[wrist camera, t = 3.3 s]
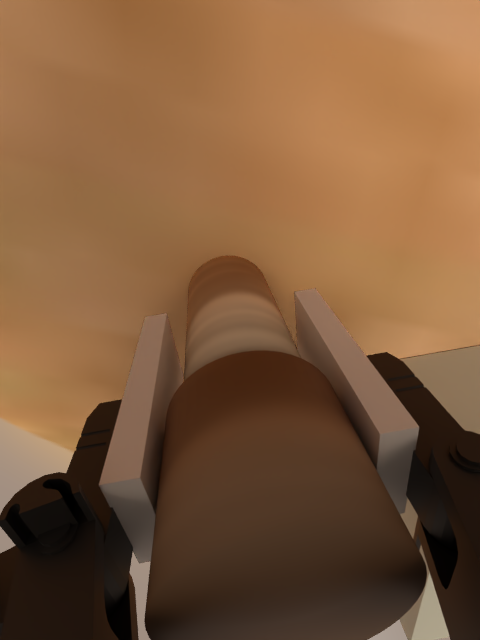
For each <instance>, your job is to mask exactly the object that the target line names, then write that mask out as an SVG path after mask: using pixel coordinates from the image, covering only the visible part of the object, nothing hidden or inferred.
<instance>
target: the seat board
mask: <svg viewBox="0 0 480 640" xmlns="http://www.w3.org/2000/svg"><path fill="white" fill-rule="evenodd" d="M400 360H401V361H403V362H404V363H405V364H406V365H407V366H408V367H409V369H410V370H411V371H412V372H413V373H414V375H415V377H417V378H418V379H419V380H420V381H421V382H422V383H423V384H424V387H426V388H427V389H428V390H429V391H430V392H431V393H432V394H433V396H434V397H435V398H436V399H437V400H438V401H439V402H440V403H441V405H442V406H443V407H444V408H445V409H446V410H447V411H448V412H449V413H450V415H451V416H452V417H453V418H454V419H455V420H456V421H457V422H458V424H459V425H460V426H461V427H462V428H463V429H464V430H465V431H472V432H475V433H477V434H480V345H479V346H473V347H467V348H462V349H456V350H450V351H445V352H439V353H433V354H427V355H422V356H416V357H410V358H405V359H400ZM400 515H401V517H402V519H403V521H404V523H405V525H406V527H407V529H408V531H409V532H410V534H411V536H412V538H413V537H414V532H415V528H416V523H417V518H418V515H417V513H416V512H415V510H414V508H413V506H412V505H411V503H410V501H409V499H408V498H407V502H406V508H405V513H402V514H400ZM420 553H421V555H422V557H423V559H424V562H425V564H426V569H427V579H426V584H425V587H424V589H423V592H422V594H421V595H420V597H419V598H418V600H417V602H416V603H415V604H414V605H413V606H412V607H411V609H410V610H409V611H408V612H407V613H406V614H404V615H403V616H402V617H401V618H400V622H401V624H402V626H403V629H404V631H405V634H406V636H407V639H408V640H437V639H442V638H446V637H450V636H449V633H448V630H447V627H446V623H445V620H444V617H443V614H442V610H441V607H440V604H439V601H438V598H437V594H436V591H435V588H434V585H433V581H432V578H431V575H430V572H429V569H428V565H427V562H426V559H425V556H424V552H423V549H422V546H420Z"/></svg>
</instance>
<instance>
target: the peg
mask: <svg viewBox="0 0 480 640" xmlns="http://www.w3.org/2000/svg"><path fill="white" fill-rule="evenodd" d="M426 579H427V569H426V564H425V562H424V559H423V557H422V555H421V553H420V551H419V549H418V548H417V546H416V544H415V542H414V540H413V538H412V536H411V534H410V532H409V531H408V529H407V527H406V525H405V523H404V521H403V519H402V517H401V515H400V514H399V512H398V510H397V508H396V506H395V504H394V502H393V500H392V498H391V497H390V495H389V493H388V491H387V489H386V487H385V485H384V483H383V481H382V480H381V478H380V476H379V474H378V472H377V470H376V468H375V466H374V464H373V463H372V461H371V459H370V457H369V455H368V453H367V451H366V449H365V447H364V446H363V444H362V442H361V440H360V438H359V436H358V434H357V432H356V430H355V429H354V427H353V425H352V423H351V421H350V419H349V417H348V415H347V413H346V412H345V410H344V408H343V406H342V404H341V402H340V400H339V398H338V396H337V395H336V393H335V391H334V389H333V387H332V385H331V383H330V382H329V380H328V379H327V377H326V376H325V375H324V374H323V373H322V372H321V371H320V370H319V369H318V368H317V367H315V366H314V365H312V364H311V363H309V362H307V361H306V360H304V359H302V358H301V356H300V354H299V352H298V350H297V348H296V345H295V343H294V341H293V339H292V337H291V335H290V332H289V330H288V328H287V326H286V324H285V321H284V319H283V317H282V315H281V313H280V311H279V308H278V306H277V304H276V302H275V300H274V298H273V295H272V293H271V291H270V289H269V287H268V284H267V282H266V280H265V278H264V276H263V274H262V272H261V271H260V270H259V269H258V268H257V266H255V265H254V264H253V263H252V262H250V261H248V260H246V259H244V258H241V257H236V256H221V257H217V258H214V259H212V260H210V261H208V262H206V263H205V264H203V265H202V266H201V267H200V268H199V269H198V270H197V271H196V272H195V274H194V275H193V277H192V279H191V281H190V285H189V291H188V310H187V331H186V351H185V371H184V382H183V383H182V384H181V385H180V387H179V388H178V389H177V391H176V392H175V394H174V395H173V397H172V399H171V401H170V403H169V407H168V410H167V414H166V422H165V432H164V441H163V450H162V460H161V469H160V479H159V488H158V498H157V507H156V517H155V526H154V536H153V545H152V555H151V565H150V574H149V583H148V593H147V602H146V611H145V627H146V631H147V633H148V635H149V638H150V639H151V640H367V639H369V638H371V637H373V636H375V635H376V634H378V633H380V632H382V631H383V630H385V629H386V628H388V627H389V626H391V625H392V624H393V623H395V622H396V621H397V620H399V619H400V618H401V617H402V616H403V615H404V614H406V613H407V612H408V611H409V610H410V609H411V607H412V606H413V605H414V604H415V603H416V602H417V600H418V598H419V597H420V595H421V594H422V592H423V589H424V587H425V584H426Z"/></svg>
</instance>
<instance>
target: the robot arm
mask: <svg viewBox="0 0 480 640" xmlns="http://www.w3.org/2000/svg"><path fill="white" fill-rule="evenodd" d="M294 296H295V313H296V329H297V346H298V352H299V354H300V356H301V358H302V359H304V360H306V361H307V362H309V363H311V364H312V365H314V366H315V367H317V368H318V369H319V370H320V371H321V372H322V373H323V374H324V375H325V376H326V377H327V379H328V380H329V382H330V383H331V385H332V387H333V389H334V391H335V393H336V395H337V396H338V398H339V400H340V402H341V404H342V406H343V408H344V410H345V412H346V413H347V415H348V417H349V419H350V421H351V423H352V425H353V427H354V429H355V430H356V432H357V434H358V436H359V438H360V440H361V442H362V444H363V446H364V447H365V449H366V451H367V453H368V455H369V457H370V459H371V461H372V463H373V464H374V466H375V468H376V470H377V472H378V474H379V476H380V478H381V480H382V481H383V483H384V485H385V487H386V489H387V491H388V493H389V495H390V497H391V498H392V500H393V502H394V504H395V506H396V508H397V510H398V512H399V514H402V513H405V508H406V502H407V498H408V499H409V501H410V503H411V505H412V506H413V508H414V510H415V512H416V513H417V515H418V518H417V523H416V528H415V532H414V537H413V540H414V542H415V544H416V546H417V548H418V549H419V551H420V546H422V549H423V552H424V556H425V559H426V562H427V565H428V569H429V572H430V575H431V578H432V581H433V585H434V588H435V591H436V594H437V598H438V601H439V604H440V607H441V610H442V614H443V617H444V620H445V623H446V627H447V630H448V633H449V636H450V639H451V640H480V434H477V433H475V432H472V431H465V430H464V429H463V428H462V427H461V426H460V425H459V424H458V422H457V421H456V420H455V419H454V418H453V417H452V416H451V415H450V413H449V412H448V411H447V410H446V409H445V408H444V407H443V406H442V405H441V403H440V402H439V401H438V400H437V399H436V398H435V397H434V396H433V394H432V393H431V392H430V391H429V390H428V389H427V388H426V387H424V384H423V383H422V382H421V381H420V380H419V379H418V378H417V377H415V375H414V373H413V372H412V371H411V370H410V369H409V367H408V366H407V365H406V364H405V363H404V362H403V361H401V360H400V359H398V358H396V357H394V356H392V355H391V354H389V353H387V352H385V353H379V354H374V355H368V356H366V355H365V354H364V352H363V351H362V350H361V348H360V347H359V346H358V344H357V343H356V342H355V340H354V339H353V338H352V336H351V335H350V334H349V332H348V331H347V330H346V328H345V327H344V326H343V324H342V323H341V322H340V320H339V319H338V318H337V316H336V315H335V314H334V312H333V311H332V310H331V308H330V307H329V306H328V304H327V303H326V302H325V300H324V299H323V298H322V296H321V295H320V294H319V292H318V291H317V290H316V288H313V289H307V290H301V291H295V292H294ZM182 383H183V372H182V368H181V365H180V361H179V357H178V353H177V350H176V346H175V342H174V338H173V334H172V331H171V327H170V323H169V319H168V316H167V313H164V314H158V315H152V316H146V317H145V319H144V322H143V326H142V330H141V333H140V337H139V341H138V344H137V348H136V351H135V355H134V359H133V362H132V366H131V370H130V373H129V377H128V381H127V384H126V388H125V391H124V395H123V399H122V400H116V401H111V402H105V403H100V404H99V405H98V406H97V407H96V408H95V410H94V411H93V412H92V413H91V414H90V416H89V417H88V418H87V420H86V423H85V425H84V428H83V431H82V433H81V437H80V439H79V441H78V444H77V447H76V451H75V452H74V454H73V457H72V460H71V462H70V465H69V468H68V470H67V473H60V472H58V473H53V474H48V475H44V476H42V477H40V478H39V479H36V480H34V481H32V482H30V483H29V484H27V485H26V486H25V487H24V488H22V489H21V490H20V491H19V492H17V493H16V494H15V495H14V496H13V497H12V499H11V500H10V501H9V502H8V503H7V505H6V506H5V507H4V509H3V511H2V513H1V515H0V526H1V527H2V529H3V530H4V531H5V532H6V534H7V535H8V536H9V537H10V539H11V540H12V541H13V542H14V544H15V545H16V546H14V547H12V548H11V549H9V550H7V551H5V552H2V553H0V640H138V626H137V613H136V600H135V599H136V598H135V587H134V583H133V580H132V577H131V575H130V573H129V571H130V565H131V558H132V551H133V552H134V554H135V556H136V558H137V560H138V562H139V563H144V562H149V561H151V555H152V545H153V536H154V526H155V517H156V507H157V498H158V488H159V479H160V469H161V460H162V450H163V441H164V432H165V422H166V414H167V410H168V407H169V403H170V401H171V399H172V397H173V395H174V394H175V392H176V391H177V389H178V388H179V387H180V385H181V384H182Z"/></svg>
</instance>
